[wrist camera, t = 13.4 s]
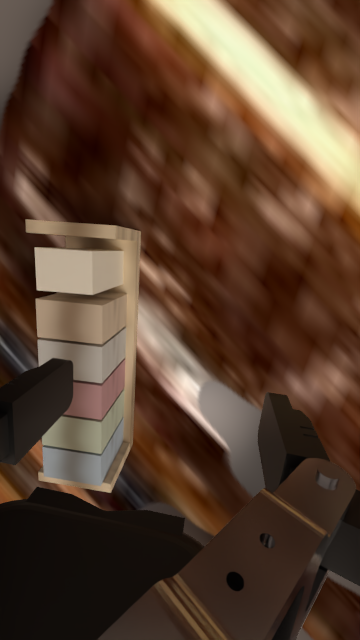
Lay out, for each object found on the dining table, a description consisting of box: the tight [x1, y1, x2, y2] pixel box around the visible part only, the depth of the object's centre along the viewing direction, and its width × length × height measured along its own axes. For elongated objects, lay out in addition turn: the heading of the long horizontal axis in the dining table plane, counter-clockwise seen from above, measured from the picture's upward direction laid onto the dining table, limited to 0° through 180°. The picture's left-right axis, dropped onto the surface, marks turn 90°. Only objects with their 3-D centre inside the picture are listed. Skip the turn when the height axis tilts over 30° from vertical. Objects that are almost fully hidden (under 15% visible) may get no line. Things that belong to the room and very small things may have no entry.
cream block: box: [35, 247, 124, 295], centre depth 32 cm, size 4×6×9 cm
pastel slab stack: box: [26, 219, 141, 493], centre depth 36 cm, size 9×30×10 cm, turn 176°
